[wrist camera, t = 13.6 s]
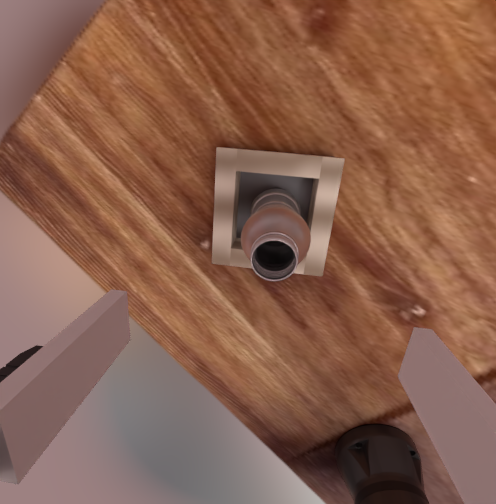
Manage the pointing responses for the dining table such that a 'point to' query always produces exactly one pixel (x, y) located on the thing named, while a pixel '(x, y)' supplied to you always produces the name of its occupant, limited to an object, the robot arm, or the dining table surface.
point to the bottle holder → (273, 177)
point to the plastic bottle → (275, 235)
